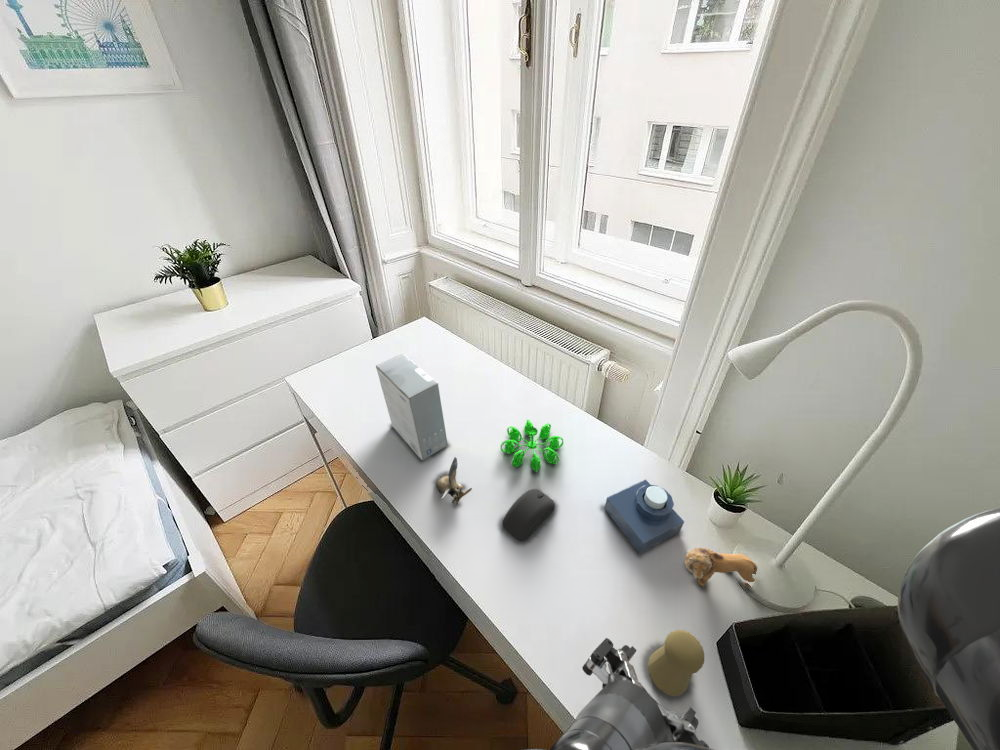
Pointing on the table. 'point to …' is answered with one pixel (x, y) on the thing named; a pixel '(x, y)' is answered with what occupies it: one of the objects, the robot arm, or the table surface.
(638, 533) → the button base
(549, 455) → the chandelier
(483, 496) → the table surface
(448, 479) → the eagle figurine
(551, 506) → the computer mouse
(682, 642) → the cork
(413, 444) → the hard drive box
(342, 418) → the table surface
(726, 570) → the lion figurine
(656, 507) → the white button cap
